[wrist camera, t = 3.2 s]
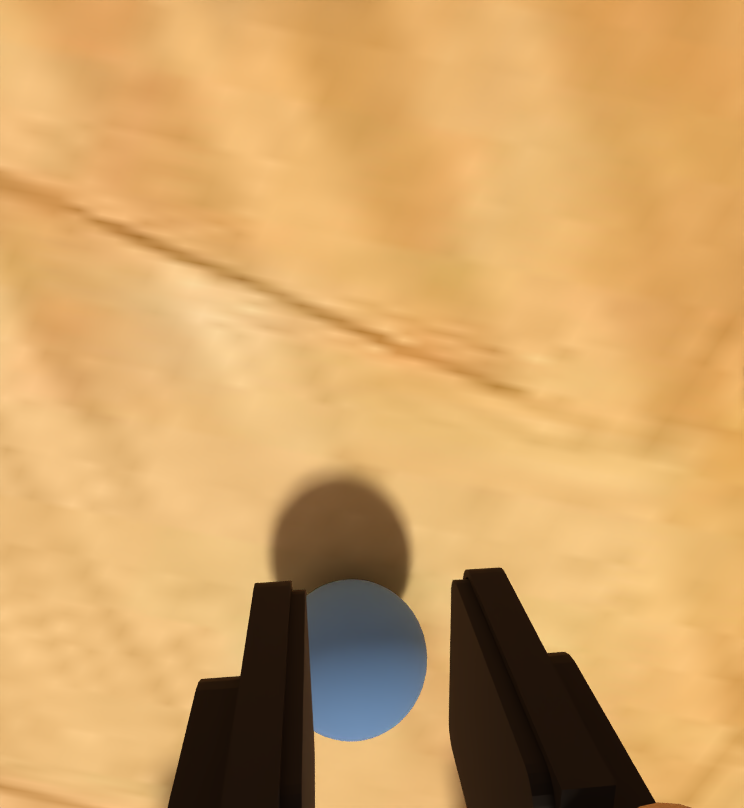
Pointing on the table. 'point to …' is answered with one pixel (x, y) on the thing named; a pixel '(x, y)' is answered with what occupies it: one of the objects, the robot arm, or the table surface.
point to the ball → (362, 659)
